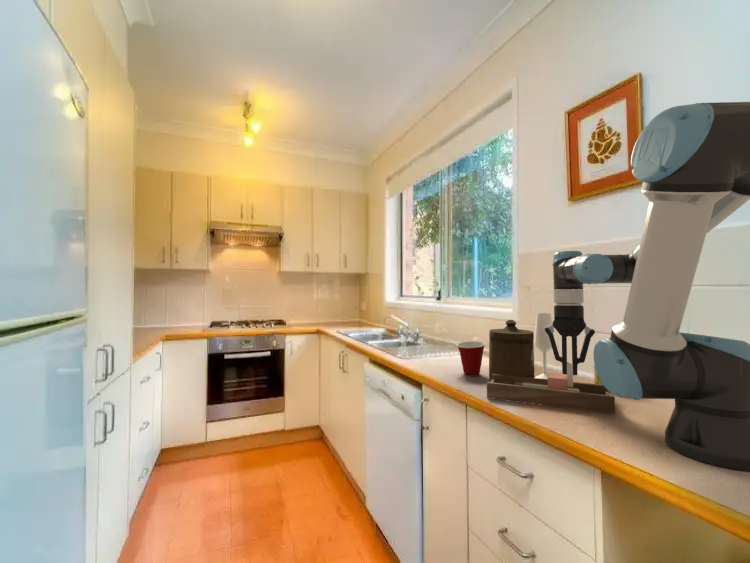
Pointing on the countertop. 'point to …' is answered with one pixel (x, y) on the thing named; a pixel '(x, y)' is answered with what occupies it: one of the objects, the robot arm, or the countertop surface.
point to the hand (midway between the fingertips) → (570, 385)
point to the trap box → (551, 393)
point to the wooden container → (511, 351)
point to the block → (557, 382)
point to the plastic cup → (471, 356)
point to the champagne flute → (542, 338)
